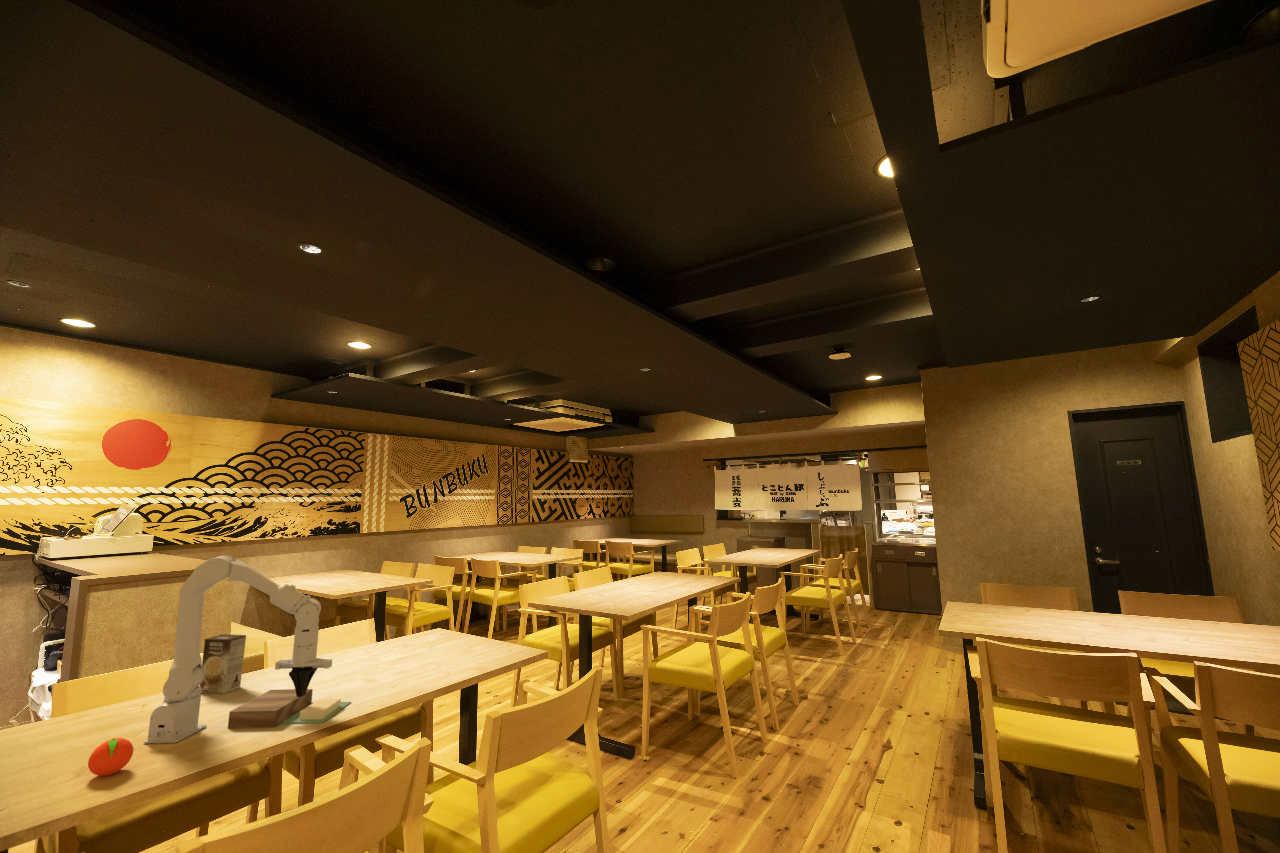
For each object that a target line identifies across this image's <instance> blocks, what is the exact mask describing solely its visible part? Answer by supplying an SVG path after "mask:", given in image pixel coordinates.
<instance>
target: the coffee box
mask: <svg viewBox="0 0 1280 853" xmlns="http://www.w3.org/2000/svg"><path fill="white" fill-rule="evenodd" d="M246 640H247V635H246V634H230V633H229V634H228V633H227V634H226V633H225V634H224V633H221V634H219V635H214V636H211V637H208V638H207V637H206V638H205V639H204V644H203V646H204V647H203V652H202V653H203V654H202V667H203V669H204V671H205V678H204V680H203V681H202V683H201V684H200V685H198V686H199V688H200V690H201V694H217V695H218V694H221V695H222V694H223V695H224V694H226V693H228V692H231V691H235V690H236V689H238V688H241V684H242V676H243V675H242V674H243V666H244V657H245V656H244V655H245V649H246V648H245V647H246Z"/></svg>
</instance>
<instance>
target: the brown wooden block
mask: <svg viewBox="0 0 1280 853" xmlns="http://www.w3.org/2000/svg"><path fill="white" fill-rule="evenodd" d="M313 690H314V689H313V688H310V689H309V688H308V689H307V692H306V695H304V696H302V697H297V696H296V690H295V688H294V689H289V688H288V689H269V690H268V691H266V692H264V693H262V694H260V695H259V696H257V697H255V698H252V699H251V700H249V701H246V702H245V703H243V704H241V705H240V706H239V705H238V706H237V707H236V708H233V709H232V710H230V711H229V712H228V722H227V723H228V724H227V729H235V728H236V729H238V728H239V729H245V728H246V729H247V728H249V729H250V728H252V729H253V728H276V727H277V726H279V725H280V724H281V722H283V721H284V720H286V719H287V718H289V717H291V716H292V715H294V714H295V713H297V712H298V711H300V710H302V709H303V708H305V707H306V706H308V705H309V704H311V703H313Z"/></svg>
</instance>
